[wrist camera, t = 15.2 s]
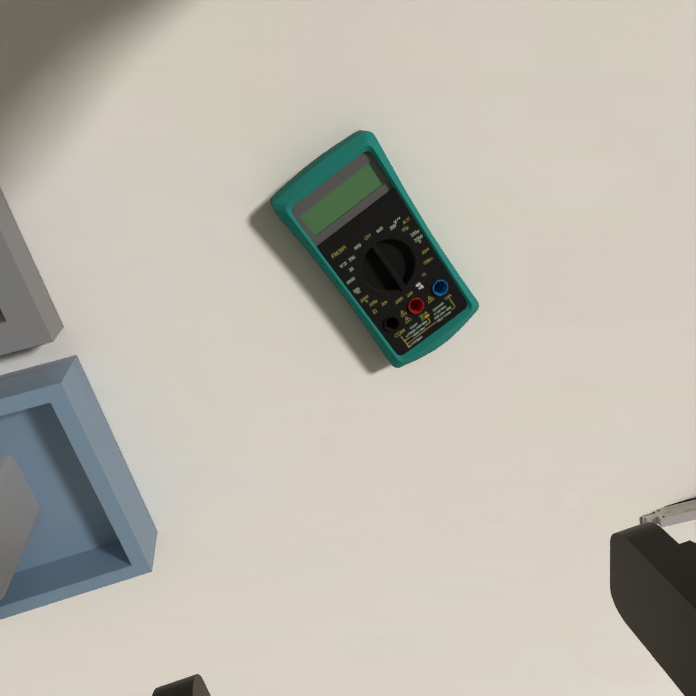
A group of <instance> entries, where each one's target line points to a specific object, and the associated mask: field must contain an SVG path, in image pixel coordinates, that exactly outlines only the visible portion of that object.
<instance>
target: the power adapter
mask: <svg viewBox="0 0 696 696" xmlns="http://www.w3.org/2000/svg"><path fill="white" fill-rule="evenodd" d="M40 513H41V509H40V506H39V504H38V502H37V500H36V498H35V496H34V494H33V492H32V490H31V488H30V486H29V484H28V482H27V480H26V479H25V477H24V475H23V473H22V471H21V469H20V467H19V465H18V463H17V461H16V460H15V459H14V458H13V457H12V456H10V455H7V454H0V600H1V599H2V598H3V597H4V596H5V593H6V591H7V589H8V586H9V584H10V582H11V580H12V577H13V575H14V573H15V570H16V568H17V566H18V564H19V561H20V559H21V557H22V554H23V552H24V550H25V548H26V545H27V543H28V541H29V538H30V536H31V534H32V531H33V529H34V527H35V525H36V522H37V520H38V518H39V515H40Z"/></svg>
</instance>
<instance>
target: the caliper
mask: <svg viewBox="0 0 696 696" xmlns="http://www.w3.org/2000/svg"><path fill="white" fill-rule="evenodd" d="M695 519H696V499H694V500H690V501H685V502H681V503H677V504H672V505H668V506H665V507H663V508H661V509H658V510H656V511H654V513H653V514H648V515H644V516H642V524H643V523H646V522H653V523H655V524H659V525H660V526H661V527H665V526H669V525H673V524H678V523H682V522H686V521H691V520H695Z"/></svg>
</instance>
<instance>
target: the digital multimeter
mask: <svg viewBox="0 0 696 696" xmlns="http://www.w3.org/2000/svg"><path fill="white" fill-rule="evenodd" d="M271 205H272V207H273V209H274V211H275V212H276V213H277V215H278V216H279V217H280V218H281V219H282V221H283V222H284V223H285V224H286V225H287V227H288V228H289V229H290V230H291V231H292V233H293V234H294V235H295V236H296V237H297V239H298V240H299V241H300V242H301V243H302V245H303V246H304V247H305V248H306V249H307V251H308V252H309V253H310V254H311V255H312V257H313V258H314V259H315V260H316V261H317V263H318V264H319V265H320V267H321V268H322V269H323V270H324V272H325V273H326V274H327V276H328V277H329V278H330V279H331V281H332V282H333V283H334V285H335V286H336V287H337V288H338V290H339V291H340V292H341V294H342V295H343V296H344V297H345V299H346V300H347V301H348V303H349V304H350V305H351V307H352V308H353V310H354V311H355V312H356V314H357V315H358V317H359V318H360V319H361V321H362V322H363V324H364V325H365V326H366V328H367V329H368V331H369V332H370V333H371V335H372V336H373V338H374V339H375V341H376V342H377V344H378V345H379V347H380V348H381V350H382V351H383V353H384V354H385V356H386V357H387V358H388V360H389V361H390V363H391V364H392V366H394V367H395V368H400V367H402V366H404V365H406V364H408V363H411V362H413V361H415V360H417V359H419V358H421V357H423V356H425V355H427V354H428V353H430V352H432V351H434V350H436V349H437V348H438V347H440V346H441V345H442V344H444V343H445V342H446V341H448V340H449V339H450V338H451V337H452V336H453V335H454V334H455V333H456V332H457V331H459V330H460V329H461V328H462V327H463V326H464V324H465V323H466V322H467V321H468V320H469V319H470V318H471V317H472V316H473V314H474V313H475V312H476V311H477V310H478V307H479V304H478V301H477V300H476V298H475V297H474V296H473V294H472V293H471V291H470V290H469V289H468V287H467V286H466V284H465V283H464V281H463V280H462V279H461V277H460V276H459V274H458V273H457V271H456V270H455V268H454V267H453V265H452V264H451V262H450V261H449V259H448V258H447V256H446V255H445V253H444V252H443V250H442V249H441V247H440V246H439V244H438V243H437V241H436V240H435V238H434V237H433V235H432V234H431V232H430V231H429V229H428V227H427V226H426V224H425V222H424V221H423V219H422V217H421V216H420V214H419V212H418V211H417V209H416V207H415V206H414V204H413V202H412V201H411V199H410V197H409V196H408V194H407V192H406V191H405V189H404V187H403V185H402V184H401V182H400V180H399V178H398V176H397V175H396V173H395V171H394V169H393V167H392V166H391V164H390V162H389V160H388V159H387V157H386V155H385V153H384V151H383V150H382V148H381V146H380V144H379V142H378V141H377V139H376V137H375V135H374V134H373V133H372V132H368V131H361V130H360V131H357V132H355V133H354V134H352V135H350V136H349V137H347V138H346V139H344V140H343V141H341V142H340V143H338V144H337V145H335V146H334V147H332V148H331V149H329V150H328V151H326V152H325V153H324V154H322V155H321V156H319V157H318V158H317V159H316V160H314V161H313V162H312V163H310V164H309V165H308V166H307V167H305V168H304V169H303V170H302V171H301V172H300V173H298V174H297V175H296V176H295V177H294V178H293V179H292V180H290V181H289V182H288V183H287V184H286V185H285V186H284V187H283V188H282V189H281V190H280V191H279V192H277V193H276V194H275V195H274V196H273V198H272V200H271ZM405 240H406V241H405ZM413 248H414V249H413ZM364 284H365V285H364ZM378 294H379V295H378ZM388 295H389V296H388ZM462 295H463V296H462ZM368 316H369V317H368ZM371 320H372V321H371ZM374 324H375V325H374ZM377 328H378V329H377ZM380 332H381V333H380ZM383 336H384V337H383ZM386 340H387V341H386ZM389 344H390V345H389ZM392 348H393V349H392ZM395 352H396V353H395Z"/></svg>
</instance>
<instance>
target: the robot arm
mask: <svg viewBox="0 0 696 696" xmlns="http://www.w3.org/2000/svg"><path fill="white" fill-rule="evenodd" d="M610 590H611V595H612V598H613V601H614V604H615V606H616V608H617V610H618V612H619V614H620V615H621V617H622V618H623V620H624V621H625V623H626V624H627V625H628V626H629V628H630V629H631V630H632V631H633V633H634V634H635V635H636V636H637V637H638V639H639V640H640V641H641V642H642V644H643V645H644V646H645V647H646V649H647V650H648V651H649V652H650V653H651V655H652V656H653V657H654V658H655V660H656V661H657V662H658V663H659V665H660V666H661V667H662V668H663V670H664V671H665V672H666V673H667V674H668V676H669V677H670V678H671V679H672V681H673V682H674V683H675V684H676V686H677V687H678V688H679V689H680V691H681V692H682V693H683V694H684V695H685V696H696V543H694V542H692V541H687V542H684V543H681V544H678V543H677V542H676V541H675V540H674V539H673V538H672V537H671V536H670V535H669V534H667V533H666V532H665V531H664V530H663V529H662V528H661V527H660V526H658V525H657V524H655V523H653V522H646V523H643V524H640V525H637V526H634V527H631V528H628V529H626V530H623V531H620V532H617V533H614V534H613V535H612V536H611V539H610ZM152 696H210V693H209V691H208V689H207V687H206V685H205V683H204V681H203V679H202V677H201V676H200V675H199V674H196V675H193V676H190V677H187V678H184V679H181V680H178V681H175V682H173V683H170V684H167V685H164V686H161V687H158V688H156V689H155V690H154V692H153V695H152Z"/></svg>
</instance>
